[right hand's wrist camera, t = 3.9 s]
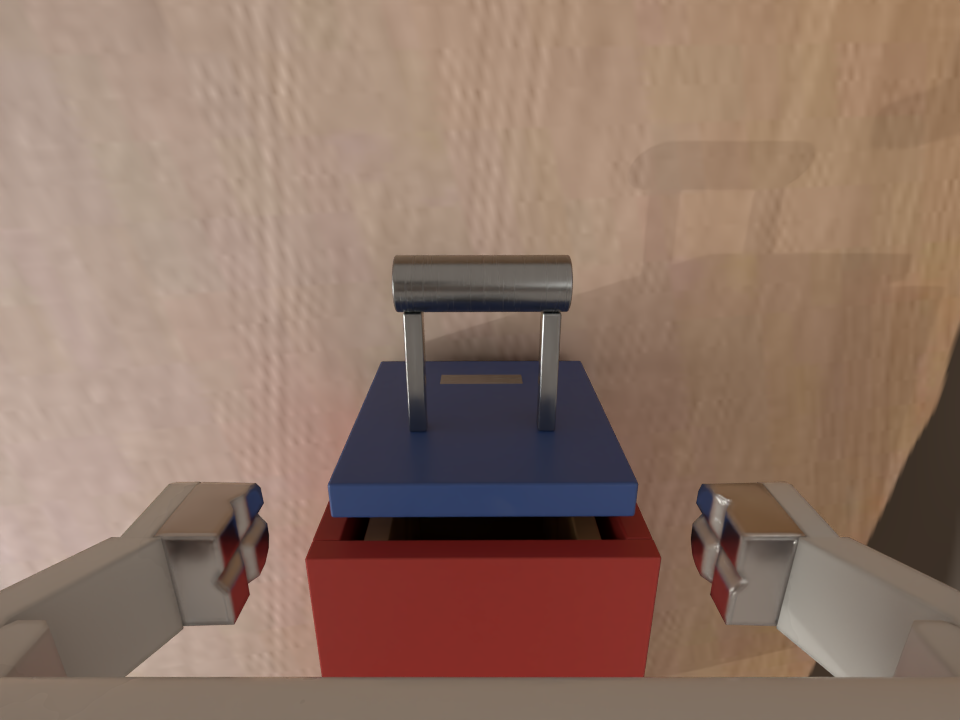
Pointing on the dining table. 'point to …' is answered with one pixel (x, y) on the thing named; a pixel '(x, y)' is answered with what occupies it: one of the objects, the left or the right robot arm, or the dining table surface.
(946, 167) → the dining table surface
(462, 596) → the red drawer cabinet
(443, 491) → the drawer
